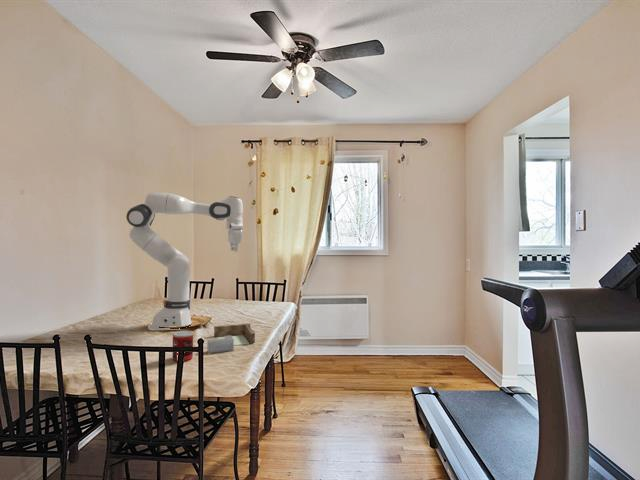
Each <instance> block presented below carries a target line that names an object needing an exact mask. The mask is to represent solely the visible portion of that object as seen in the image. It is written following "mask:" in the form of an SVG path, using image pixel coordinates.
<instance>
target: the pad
mask: <svg viewBox="0 0 640 480" xmlns="http://www.w3.org/2000/svg"><path fill="white" fill-rule="evenodd" d="M231 336H232V338H233V339H234V346H242V345H244V346H245V345H250V342H249V340H248V339H247V337H246V336H245V335H244V334H242V335H231ZM224 338H225V336H221V337H216V339H224Z"/></svg>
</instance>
